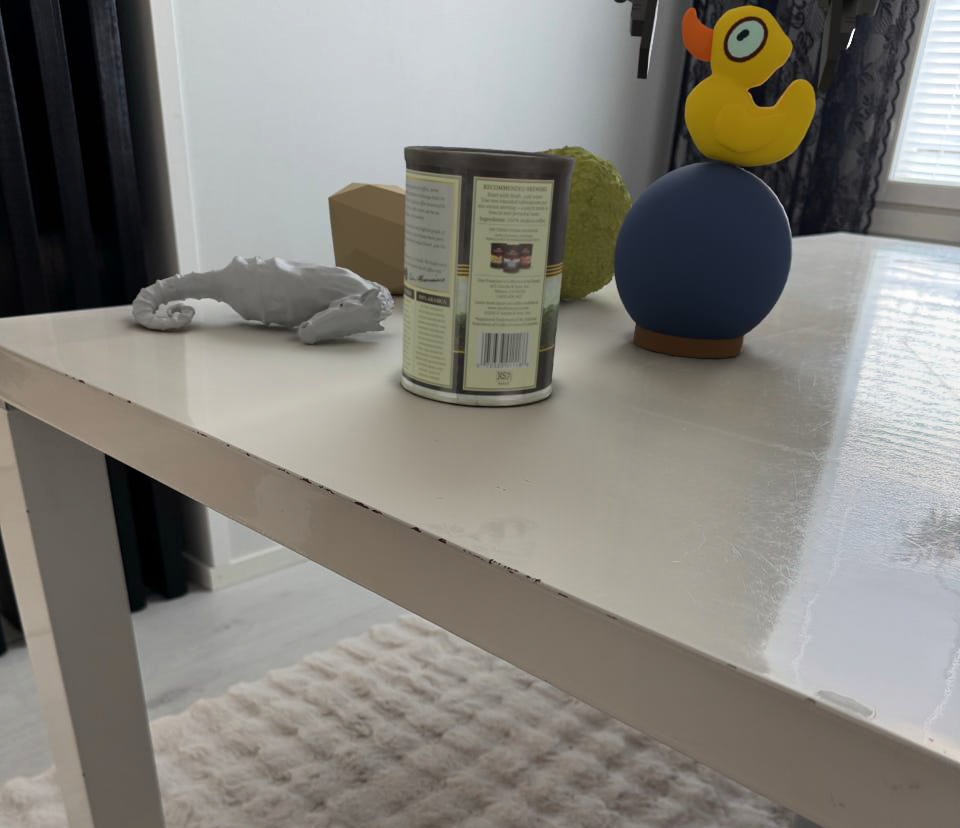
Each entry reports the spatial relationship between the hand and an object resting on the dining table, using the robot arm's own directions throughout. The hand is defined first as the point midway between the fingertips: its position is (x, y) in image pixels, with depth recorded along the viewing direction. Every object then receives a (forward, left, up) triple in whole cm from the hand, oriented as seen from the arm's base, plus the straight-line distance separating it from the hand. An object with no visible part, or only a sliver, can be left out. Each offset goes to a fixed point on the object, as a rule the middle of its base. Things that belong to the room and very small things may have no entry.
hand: (733, 70), depth 72 cm
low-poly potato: (+28, -10, -20) cm, 36 cm away
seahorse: (+33, +12, -20) cm, 41 cm away
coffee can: (+14, +22, -20) cm, 33 cm away
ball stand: (0, +1, -20) cm, 20 cm away
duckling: (0, +1, -6) cm, 6 cm away
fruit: (+14, -18, -20) cm, 30 cm away
